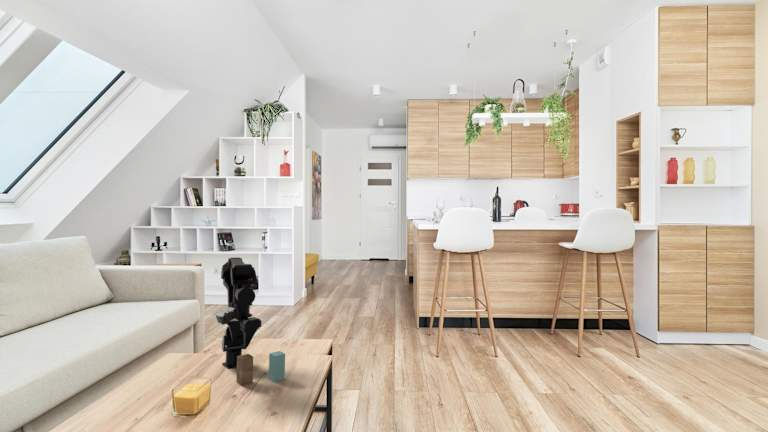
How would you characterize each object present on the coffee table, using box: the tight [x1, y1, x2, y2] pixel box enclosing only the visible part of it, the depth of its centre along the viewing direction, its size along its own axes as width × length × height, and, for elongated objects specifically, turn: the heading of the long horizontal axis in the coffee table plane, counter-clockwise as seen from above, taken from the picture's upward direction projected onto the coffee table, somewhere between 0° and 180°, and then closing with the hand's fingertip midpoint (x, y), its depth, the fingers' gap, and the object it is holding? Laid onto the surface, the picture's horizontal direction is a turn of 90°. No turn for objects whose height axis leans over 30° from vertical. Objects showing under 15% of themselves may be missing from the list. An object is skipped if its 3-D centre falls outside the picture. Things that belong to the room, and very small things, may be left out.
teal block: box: [268, 350, 286, 383], centre depth 143 cm, size 4×4×9 cm
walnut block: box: [236, 353, 254, 387], centre depth 139 cm, size 4×4×9 cm
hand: (240, 343), depth 143 cm, fingers open, 9 cm apart
